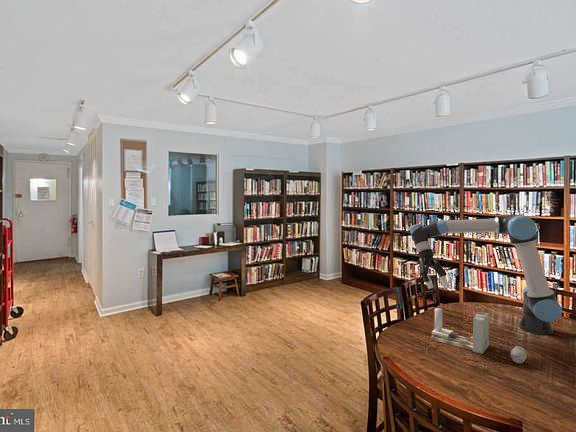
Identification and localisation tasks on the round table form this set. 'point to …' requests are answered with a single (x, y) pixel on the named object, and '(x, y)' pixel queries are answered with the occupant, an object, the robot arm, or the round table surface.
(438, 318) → the carriage
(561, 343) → the round table surface
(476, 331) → the gauge cabinet
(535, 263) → the robot arm
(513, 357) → the grey round lump
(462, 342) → the rail track
